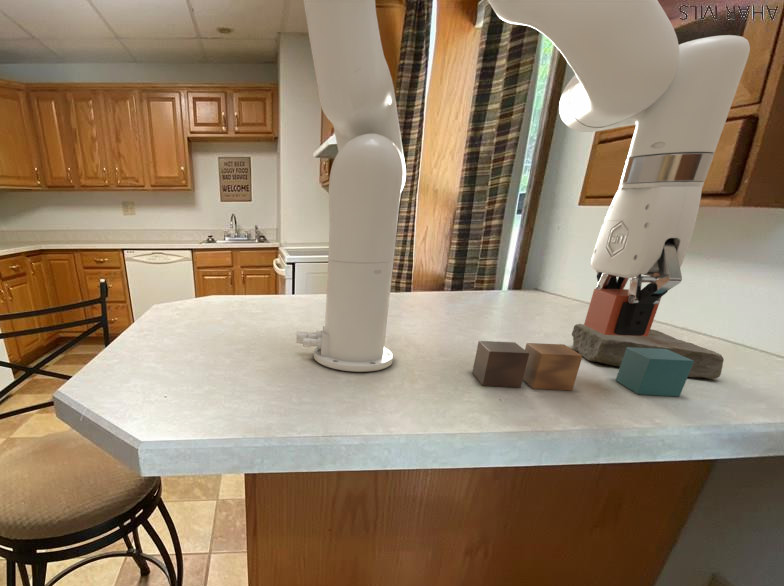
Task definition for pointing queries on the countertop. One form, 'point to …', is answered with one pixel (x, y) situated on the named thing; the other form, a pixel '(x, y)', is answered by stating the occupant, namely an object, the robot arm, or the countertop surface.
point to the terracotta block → (609, 310)
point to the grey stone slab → (614, 347)
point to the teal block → (654, 371)
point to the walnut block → (500, 364)
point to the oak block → (551, 366)
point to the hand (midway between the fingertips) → (615, 327)
